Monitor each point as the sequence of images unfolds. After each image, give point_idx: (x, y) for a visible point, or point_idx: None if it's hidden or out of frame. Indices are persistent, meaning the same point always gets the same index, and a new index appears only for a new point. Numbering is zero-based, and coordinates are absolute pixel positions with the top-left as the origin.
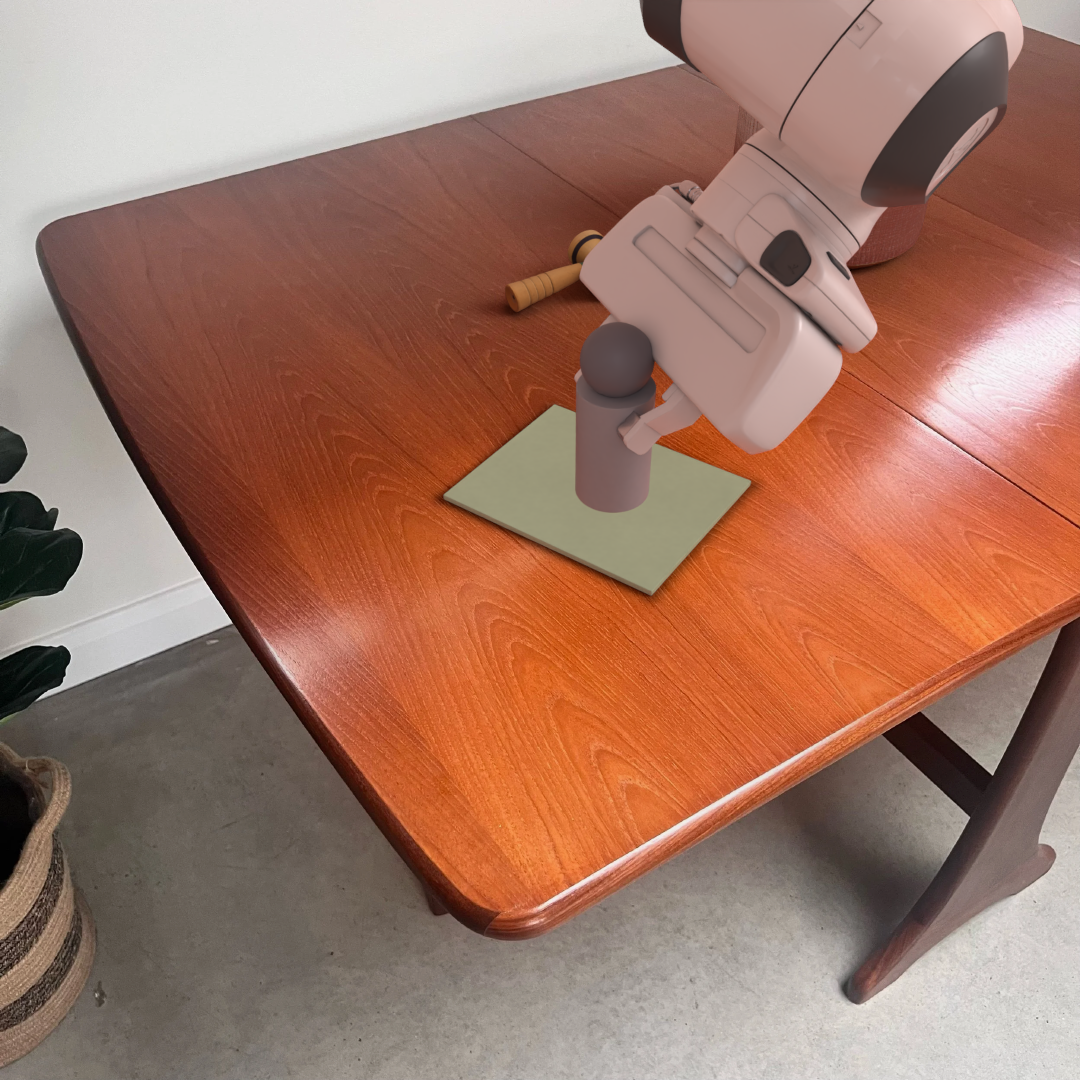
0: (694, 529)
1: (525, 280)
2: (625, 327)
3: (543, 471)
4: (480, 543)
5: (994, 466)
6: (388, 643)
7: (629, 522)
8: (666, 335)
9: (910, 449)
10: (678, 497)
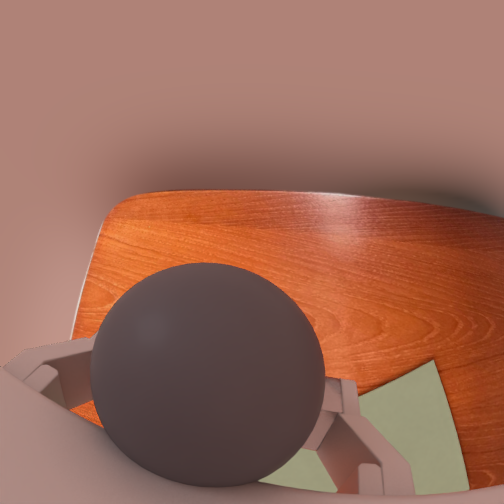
0: None
1: None
2: (170, 393)
3: (414, 447)
4: (373, 360)
5: None
6: (316, 249)
7: (315, 478)
8: (70, 482)
9: None
10: None
